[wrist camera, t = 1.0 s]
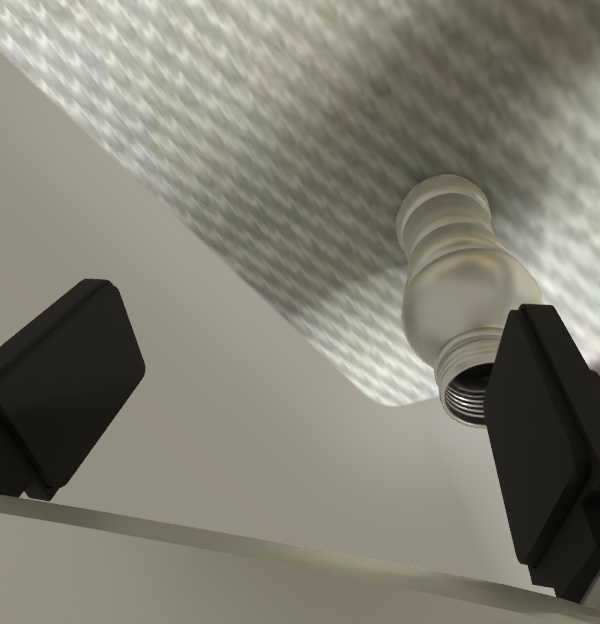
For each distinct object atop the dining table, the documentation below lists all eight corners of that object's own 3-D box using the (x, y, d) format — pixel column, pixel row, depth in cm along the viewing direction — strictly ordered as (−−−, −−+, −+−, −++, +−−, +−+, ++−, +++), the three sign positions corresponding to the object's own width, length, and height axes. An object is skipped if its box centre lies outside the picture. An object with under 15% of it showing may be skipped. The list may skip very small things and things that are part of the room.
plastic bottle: (382, 235, 34) (376, 425, 18) (416, 153, 30) (449, 300, 14) (457, 259, 34) (519, 471, 18) (501, 180, 30) (634, 360, 14)
